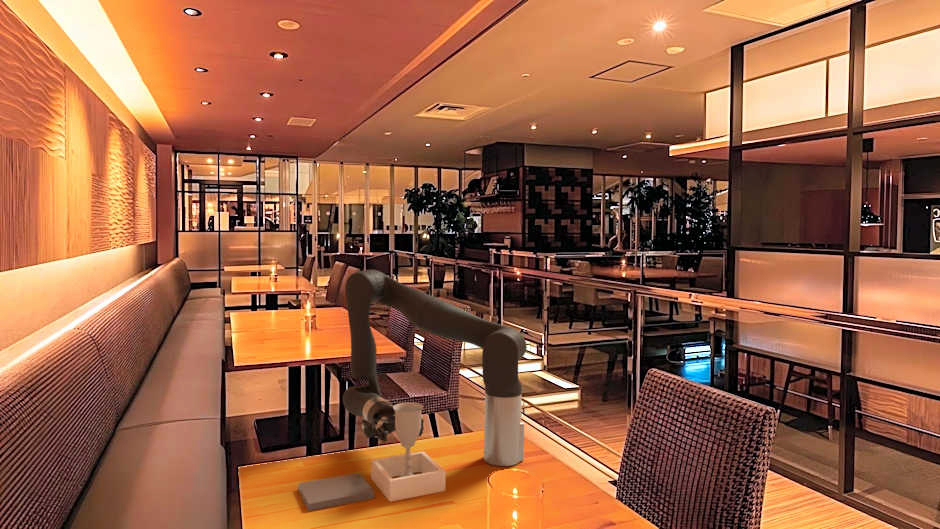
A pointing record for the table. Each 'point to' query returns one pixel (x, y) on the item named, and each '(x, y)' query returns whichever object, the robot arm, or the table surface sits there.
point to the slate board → (335, 491)
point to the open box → (408, 485)
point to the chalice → (407, 428)
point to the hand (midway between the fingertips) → (403, 434)
